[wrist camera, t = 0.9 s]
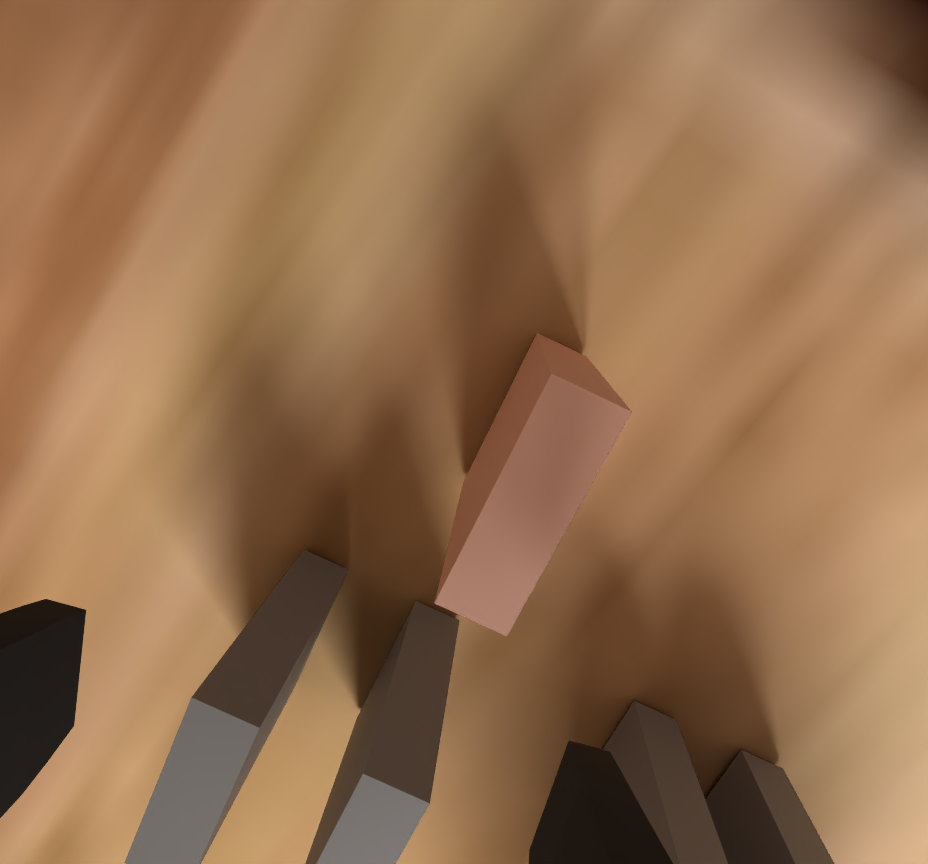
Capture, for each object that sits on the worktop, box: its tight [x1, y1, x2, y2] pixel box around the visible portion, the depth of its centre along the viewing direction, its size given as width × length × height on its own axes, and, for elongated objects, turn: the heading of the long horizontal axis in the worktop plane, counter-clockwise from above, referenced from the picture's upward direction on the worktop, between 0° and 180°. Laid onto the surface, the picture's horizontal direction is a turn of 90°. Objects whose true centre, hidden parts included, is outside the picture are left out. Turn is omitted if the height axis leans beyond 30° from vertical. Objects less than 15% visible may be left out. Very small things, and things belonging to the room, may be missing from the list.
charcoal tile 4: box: [603, 701, 728, 864], centre depth 17 cm, size 2×5×7 cm, turn 155°
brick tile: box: [435, 333, 632, 636], centre depth 15 cm, size 2×5×7 cm, turn 155°
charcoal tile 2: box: [306, 601, 459, 864], centre depth 17 cm, size 2×5×7 cm, turn 155°
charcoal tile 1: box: [125, 550, 348, 864], centre depth 17 cm, size 2×5×7 cm, turn 155°
